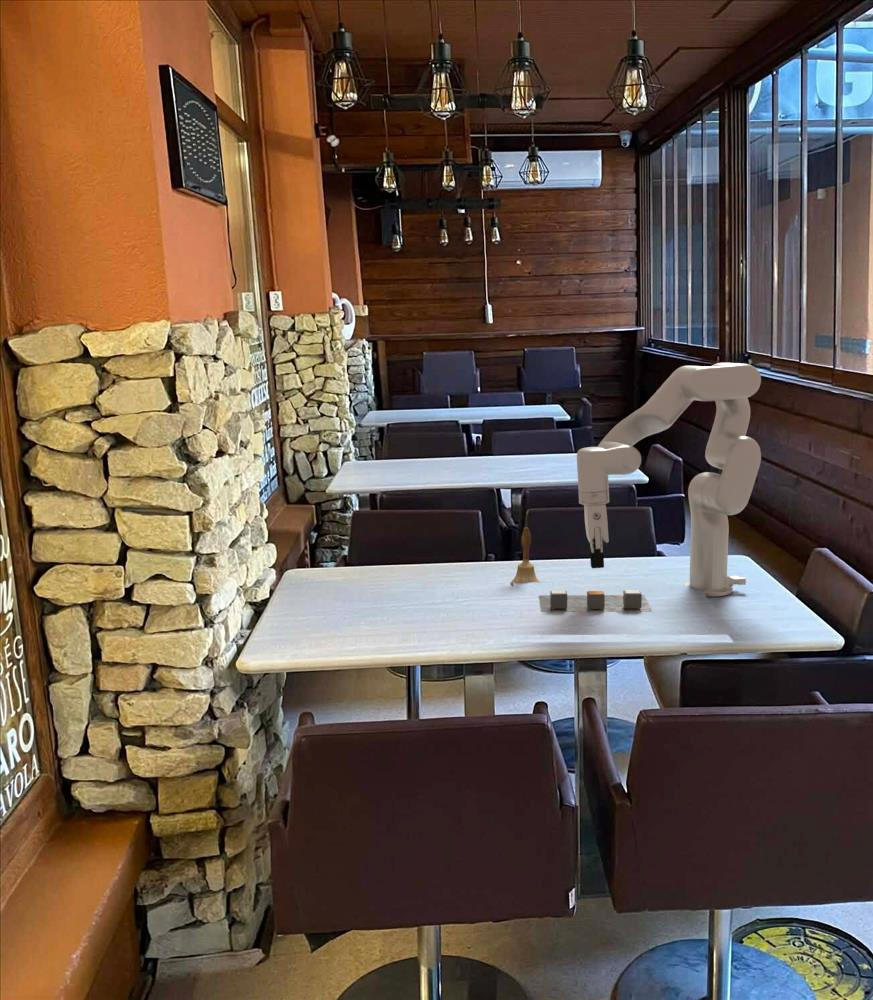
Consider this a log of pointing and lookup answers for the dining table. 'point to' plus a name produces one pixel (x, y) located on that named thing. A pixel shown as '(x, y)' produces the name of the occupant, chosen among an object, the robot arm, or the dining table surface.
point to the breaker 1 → (558, 599)
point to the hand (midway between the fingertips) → (597, 567)
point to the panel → (580, 605)
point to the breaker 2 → (632, 599)
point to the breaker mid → (595, 600)
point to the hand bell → (525, 562)
